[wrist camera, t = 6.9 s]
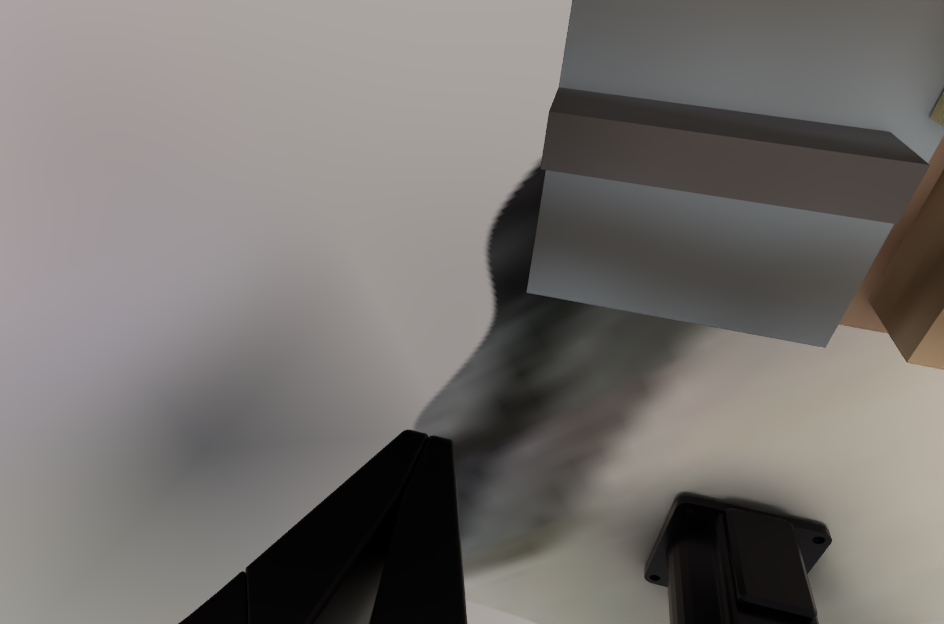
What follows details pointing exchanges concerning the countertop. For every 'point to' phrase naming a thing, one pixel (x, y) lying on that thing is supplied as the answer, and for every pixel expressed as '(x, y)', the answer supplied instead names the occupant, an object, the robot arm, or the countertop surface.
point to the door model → (751, 167)
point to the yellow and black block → (939, 111)
